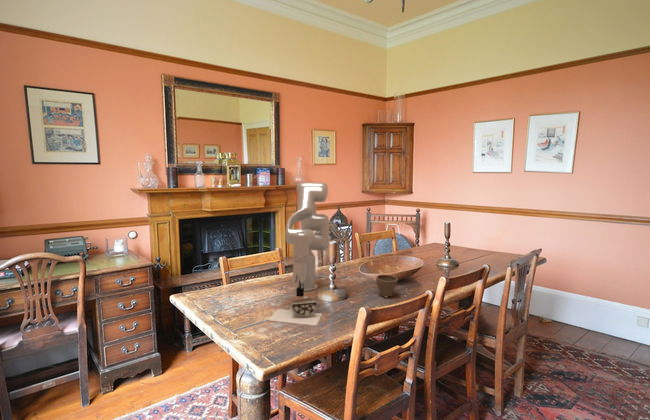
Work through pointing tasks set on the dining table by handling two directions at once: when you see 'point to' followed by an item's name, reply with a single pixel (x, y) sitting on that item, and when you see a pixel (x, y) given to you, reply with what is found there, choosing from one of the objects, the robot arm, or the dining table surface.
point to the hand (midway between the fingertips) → (300, 295)
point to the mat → (295, 317)
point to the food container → (304, 307)
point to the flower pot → (386, 284)
